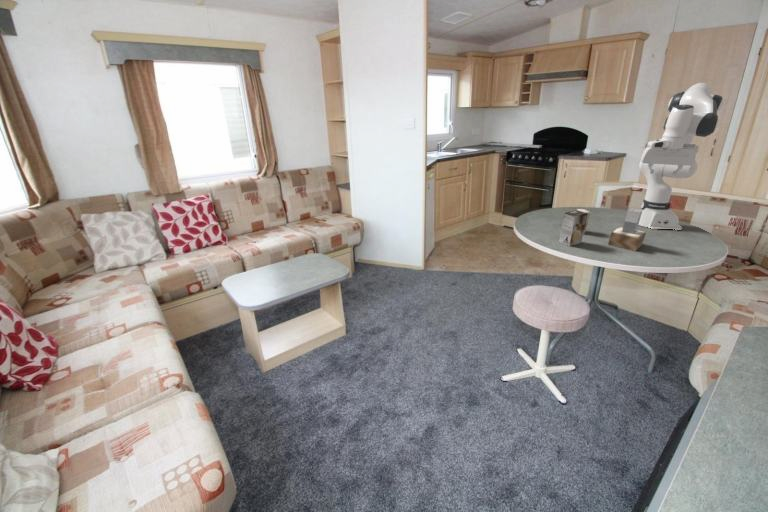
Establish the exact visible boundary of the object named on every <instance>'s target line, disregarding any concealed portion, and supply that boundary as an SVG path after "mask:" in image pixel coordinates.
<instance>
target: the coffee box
mask: <svg viewBox="0 0 768 512" xmlns="http://www.w3.org/2000/svg"><path fill="white" fill-rule="evenodd" d="M587 215H588V213H585V212H581V211H578V210H577V209H575V210H572V211H567V212H564V216H563V220H562V225H561V229H560V230H561V231H560V235H559V240H558V243H559V242H560V243H559V244H562V243H563V245H565V246H567V245H568V246H567V247H572V246H576V245H579V244H582V241H583V236H584V233H583V232H584V228H585V223H586V219H587Z"/></svg>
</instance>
